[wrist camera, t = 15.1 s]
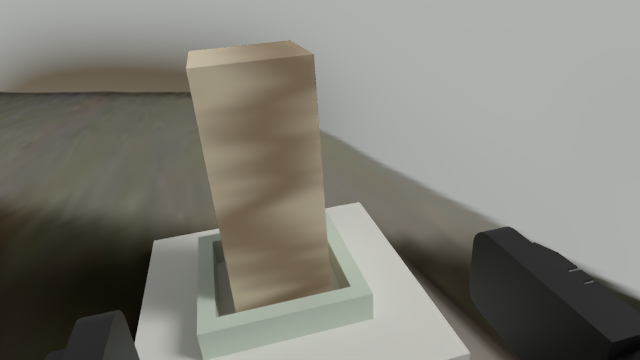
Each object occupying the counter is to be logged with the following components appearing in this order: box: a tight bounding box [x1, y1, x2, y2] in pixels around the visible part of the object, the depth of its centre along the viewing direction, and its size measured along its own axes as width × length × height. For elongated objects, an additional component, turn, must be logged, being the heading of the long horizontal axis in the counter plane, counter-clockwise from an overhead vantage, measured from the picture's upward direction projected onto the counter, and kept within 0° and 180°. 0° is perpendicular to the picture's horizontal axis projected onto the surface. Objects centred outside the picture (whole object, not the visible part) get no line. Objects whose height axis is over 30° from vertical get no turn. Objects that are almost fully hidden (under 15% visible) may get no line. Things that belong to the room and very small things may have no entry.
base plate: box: [135, 202, 470, 360], centre depth 22 cm, size 14×14×2 cm
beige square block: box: [186, 40, 331, 313], centre depth 20 cm, size 5×5×12 cm
